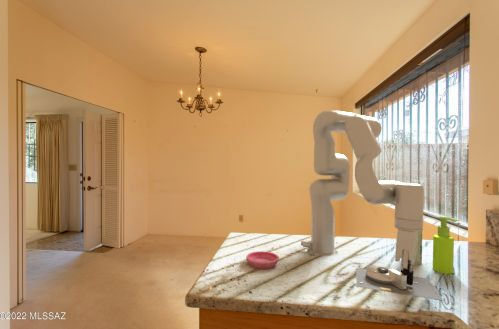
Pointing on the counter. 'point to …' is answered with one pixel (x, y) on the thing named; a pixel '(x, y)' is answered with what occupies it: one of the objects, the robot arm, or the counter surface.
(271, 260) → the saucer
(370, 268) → the dial
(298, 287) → the counter surface
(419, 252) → the spray can
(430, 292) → the board
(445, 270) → the soap dispenser
